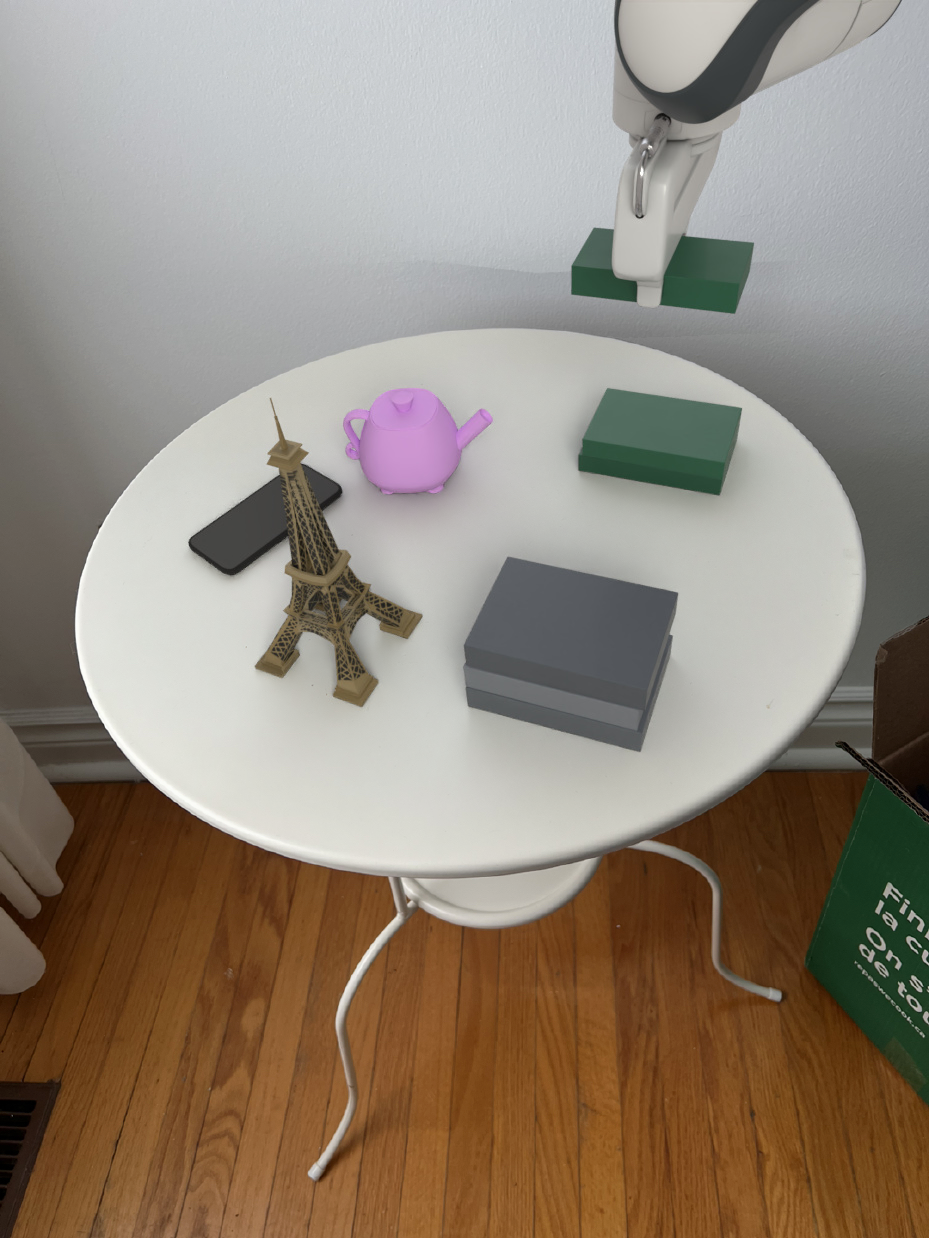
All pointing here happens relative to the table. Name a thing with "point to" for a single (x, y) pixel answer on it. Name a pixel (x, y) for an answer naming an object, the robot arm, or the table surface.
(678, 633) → the table surface
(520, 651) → the grey stack
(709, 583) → the table surface
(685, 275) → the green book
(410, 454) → the teapot
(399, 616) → the eiffel tower
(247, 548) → the smartphone
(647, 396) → the green stack
